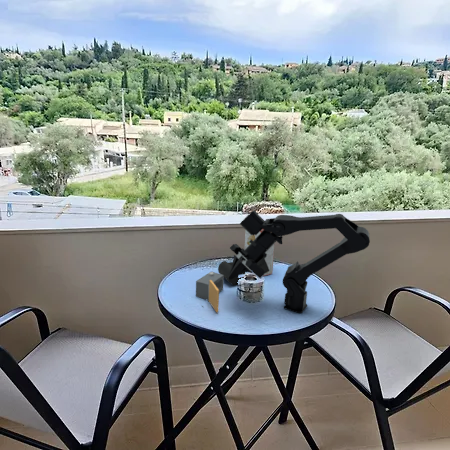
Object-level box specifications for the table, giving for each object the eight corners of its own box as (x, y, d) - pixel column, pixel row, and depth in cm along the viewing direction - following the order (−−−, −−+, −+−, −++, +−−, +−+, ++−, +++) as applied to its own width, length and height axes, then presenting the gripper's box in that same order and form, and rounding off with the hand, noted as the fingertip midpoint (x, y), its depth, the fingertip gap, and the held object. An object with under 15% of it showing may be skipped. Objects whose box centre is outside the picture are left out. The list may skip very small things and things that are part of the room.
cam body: (223, 289, 158) (224, 273, 156) (209, 300, 150) (209, 282, 148) (210, 286, 161) (211, 269, 159) (195, 296, 153) (196, 278, 150)
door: (207, 300, 150) (208, 279, 147) (210, 300, 150) (210, 278, 147) (215, 313, 141) (216, 290, 139) (218, 313, 142) (219, 290, 139)
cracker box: (242, 264, 182) (245, 217, 176) (254, 262, 185) (257, 216, 178) (260, 277, 170) (263, 227, 164) (272, 274, 173) (276, 225, 167)
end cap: (217, 277, 169) (217, 261, 167) (233, 274, 172) (234, 259, 170) (228, 287, 160) (229, 271, 158) (245, 284, 163) (246, 268, 161)
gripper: (287, 269, 138) (254, 304, 138) (264, 249, 155) (234, 280, 155) (267, 249, 134) (232, 285, 133) (245, 230, 150) (214, 262, 150)
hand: (228, 278), depth 143 cm, fingers closed
